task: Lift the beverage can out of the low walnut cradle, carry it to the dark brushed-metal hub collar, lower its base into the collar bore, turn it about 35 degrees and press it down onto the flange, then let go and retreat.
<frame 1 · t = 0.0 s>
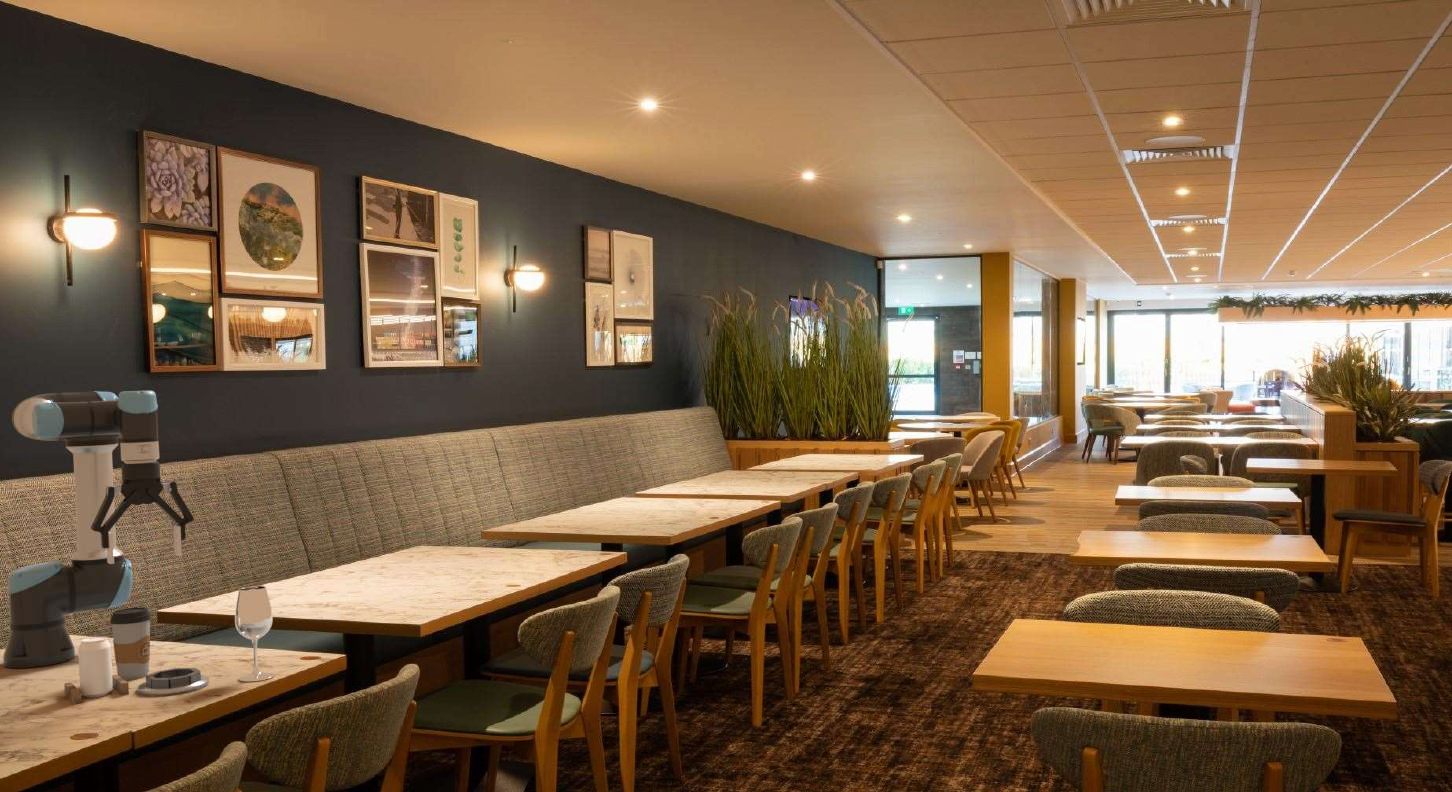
hand: (145, 559, 267), 28 cm above the table, fingers open, 13 cm apart
wineglass: (256, 678, 273), on the table
hub collar: (173, 687, 267), on the table
beverage can: (96, 695, 263), on the table
coffee cup: (133, 677, 278), on the table
walnut cradle: (96, 694, 263), on the table
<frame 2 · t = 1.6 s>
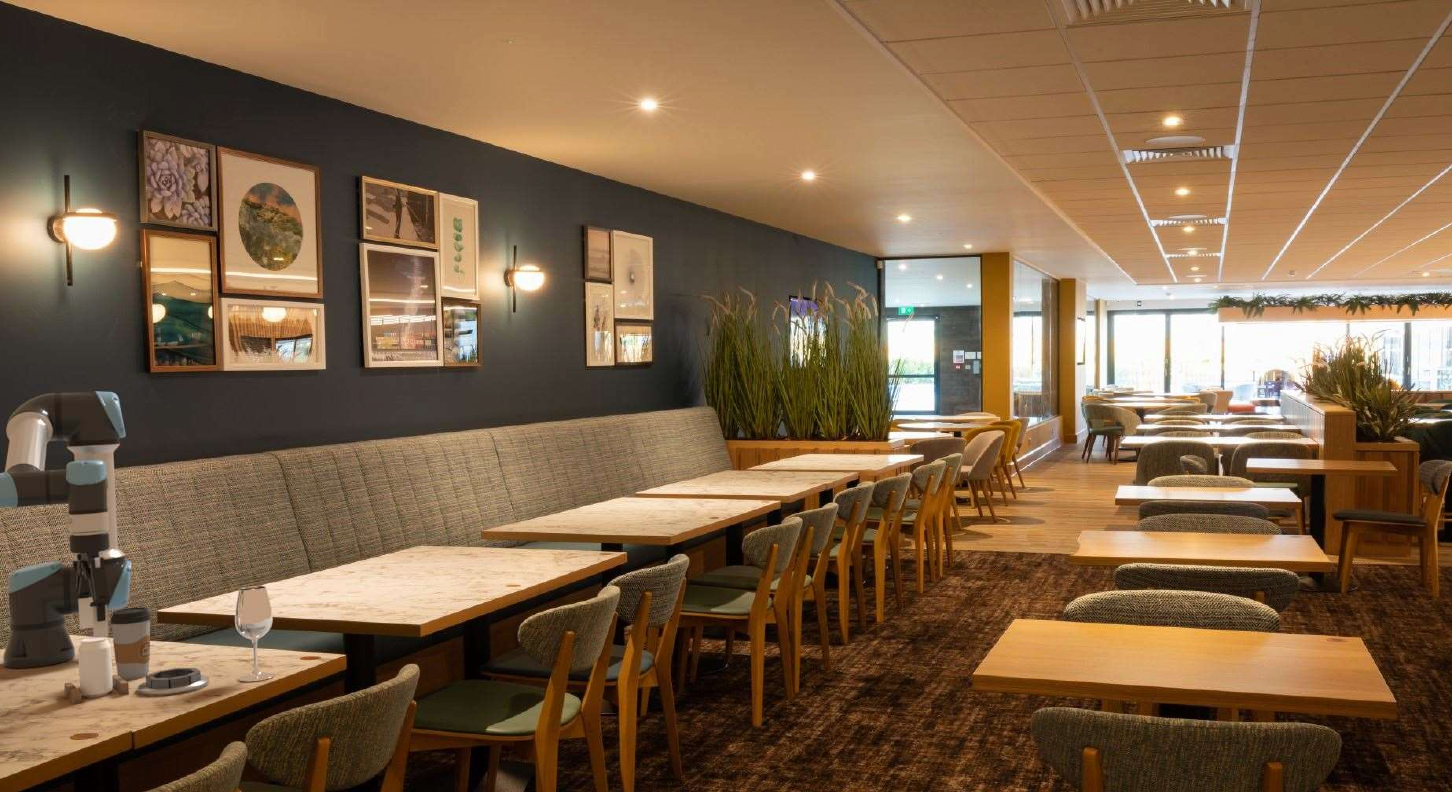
hand: (93, 632, 262), 13 cm above the table, fingers open, 13 cm apart
nothing on the table moved.
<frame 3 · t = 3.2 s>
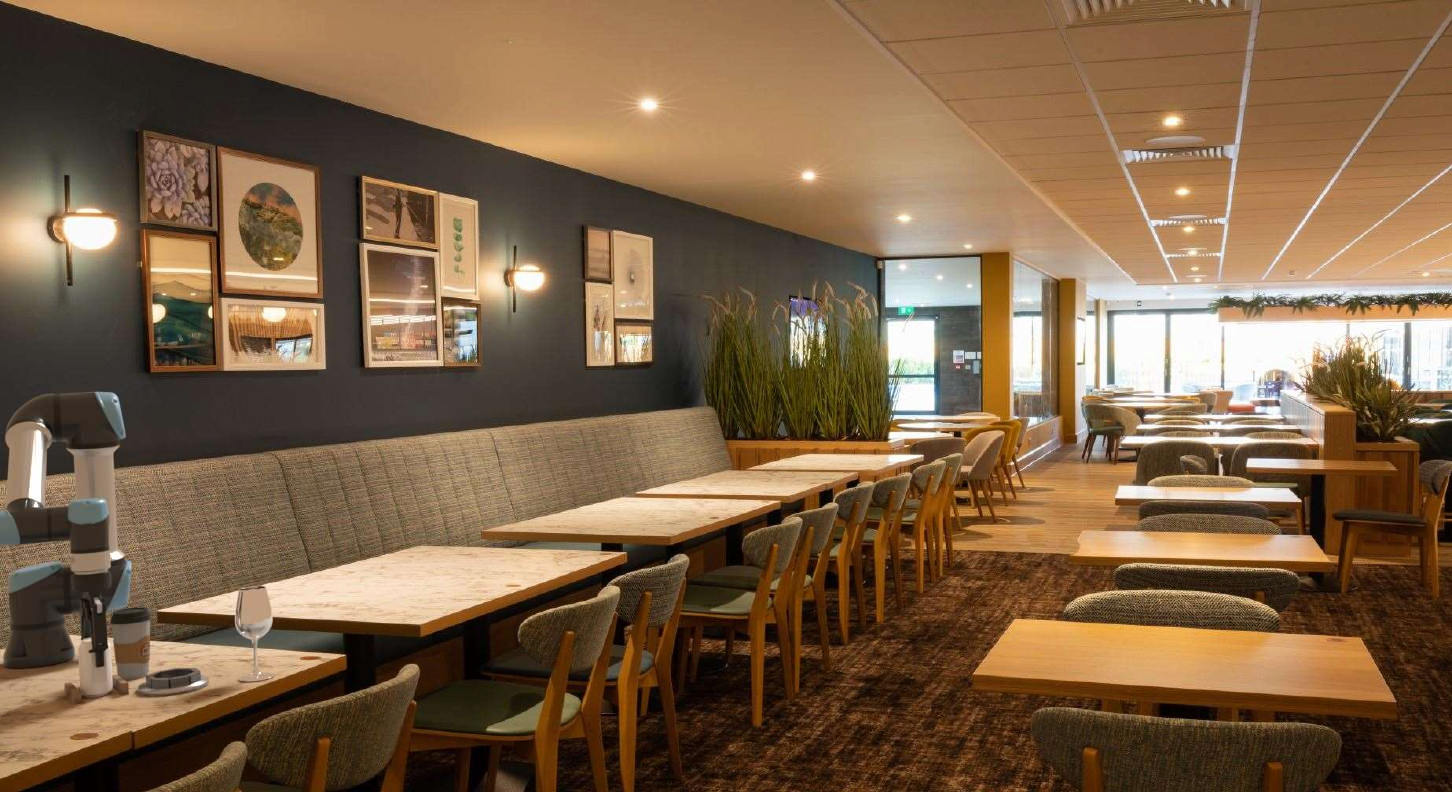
hand: (96, 678, 263), 3 cm above the table, fingers closed on beverage can, 6 cm apart
beverage can: (96, 695, 263), on the table, touching gripper
everything else where it was.
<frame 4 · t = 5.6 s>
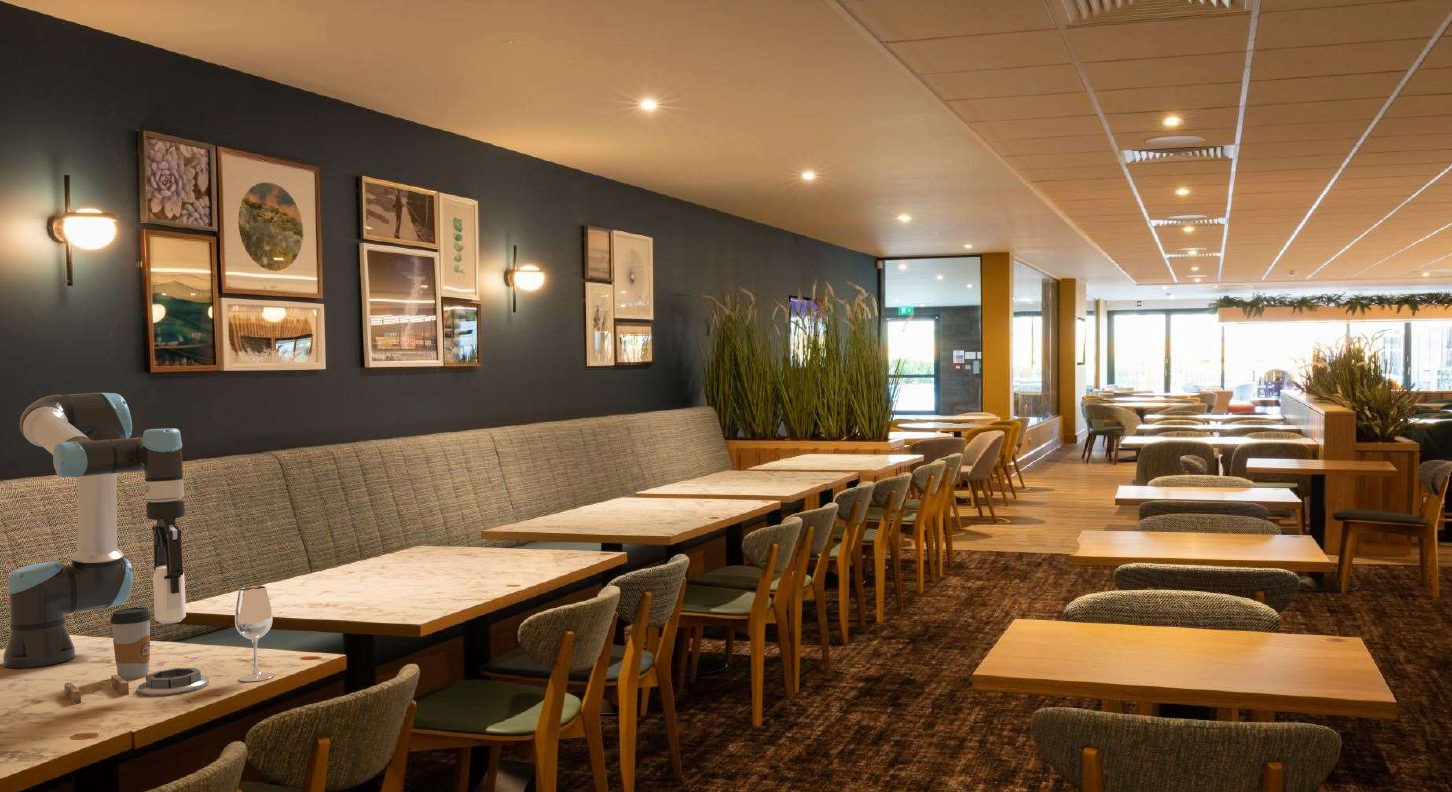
hand: (170, 605, 266), 18 cm above the table, fingers closed on beverage can, 6 cm apart
beverage can: (170, 622, 266), point 14 cm above the table, touching gripper
everything else where it was.
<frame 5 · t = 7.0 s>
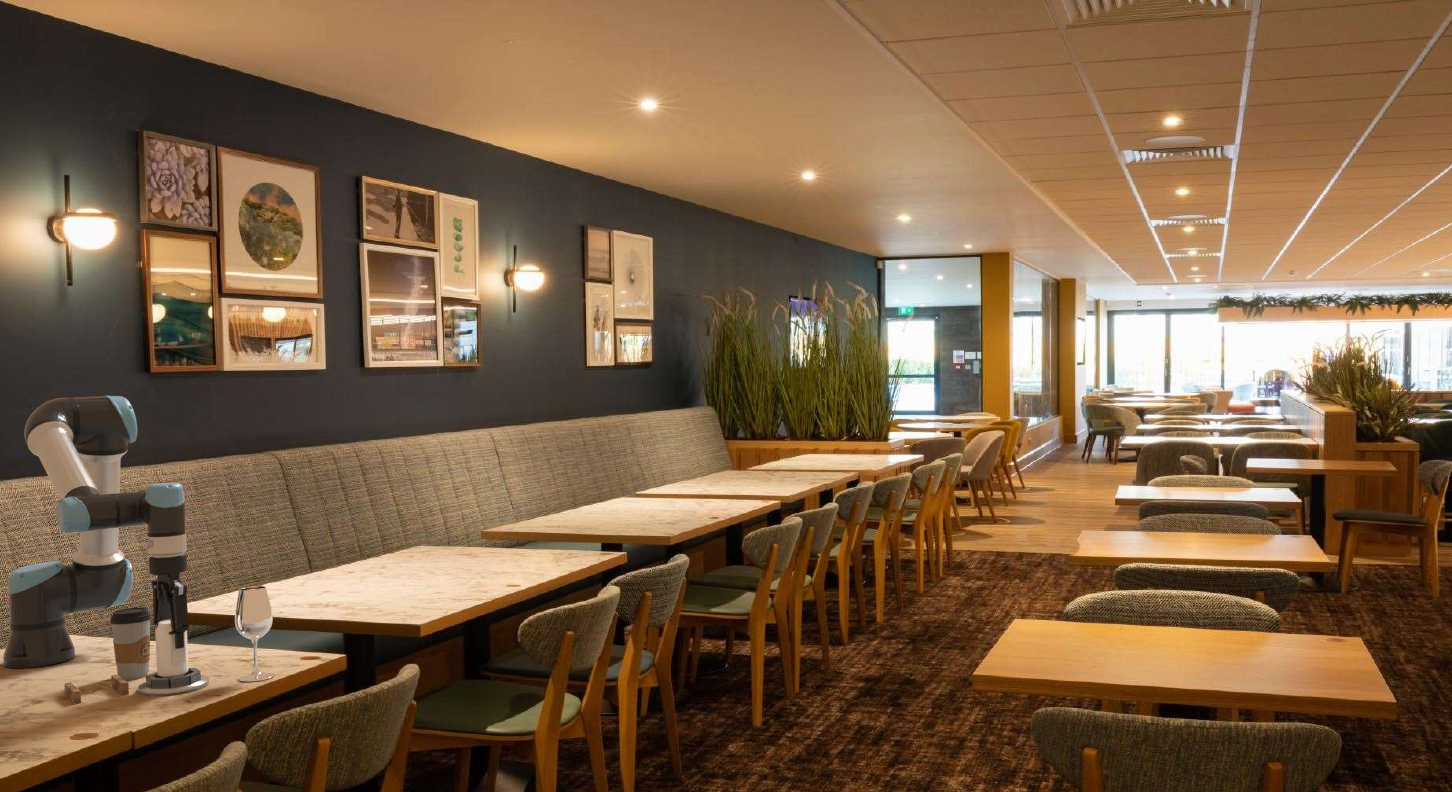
hand: (172, 660, 267), 6 cm above the table, fingers closed on beverage can, 6 cm apart
beverage can: (173, 677, 267), point 2 cm above the table, touching gripper
everything else where it was.
when the fingers open (5 cm above the table, at t = 8.2 s): beverage can stays where it is, resting on hub collar.
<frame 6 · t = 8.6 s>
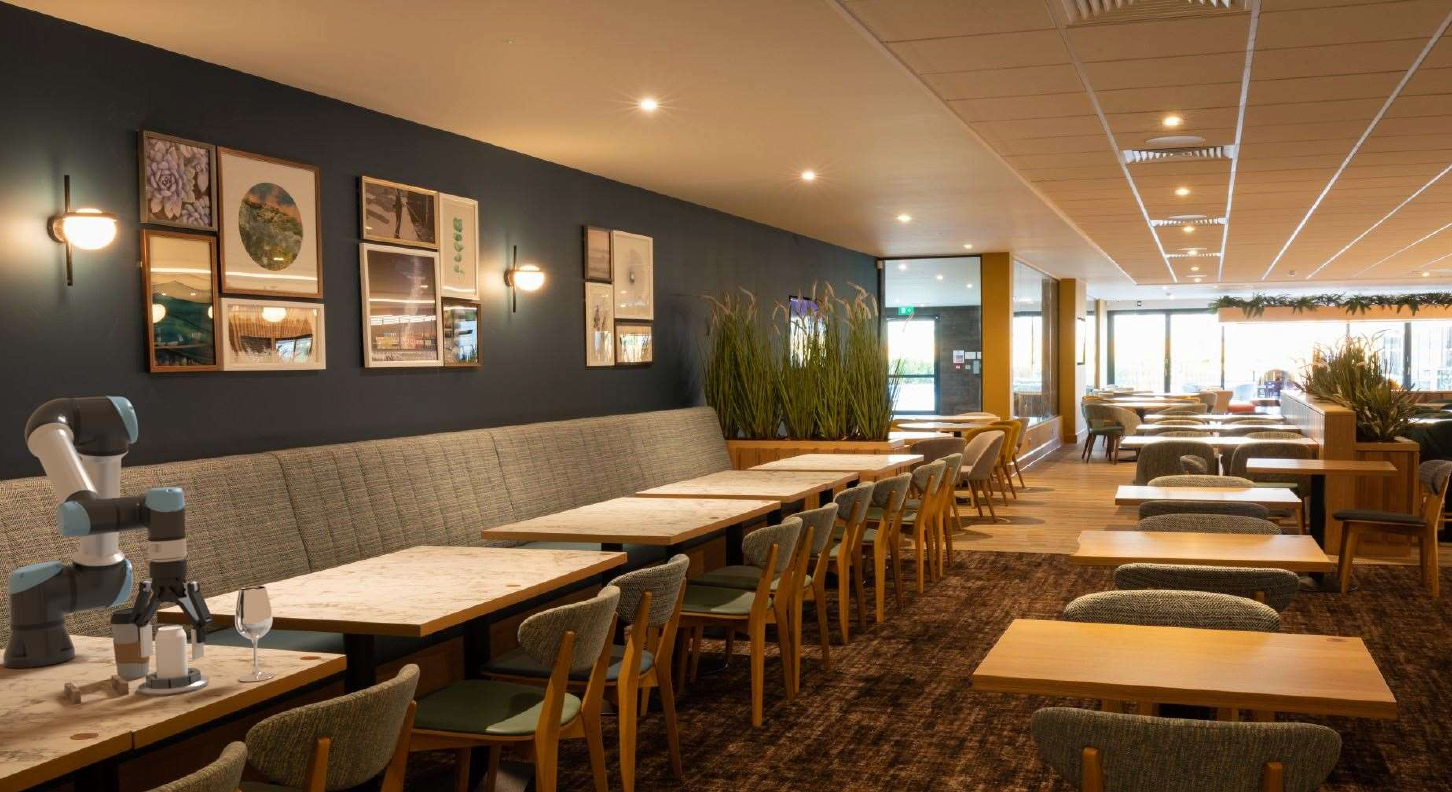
hand: (172, 657, 267), 7 cm above the table, fingers open, 13 cm apart
beverage can: (172, 683, 267), point 1 cm above the table, touching hub collar
everything else where it was.
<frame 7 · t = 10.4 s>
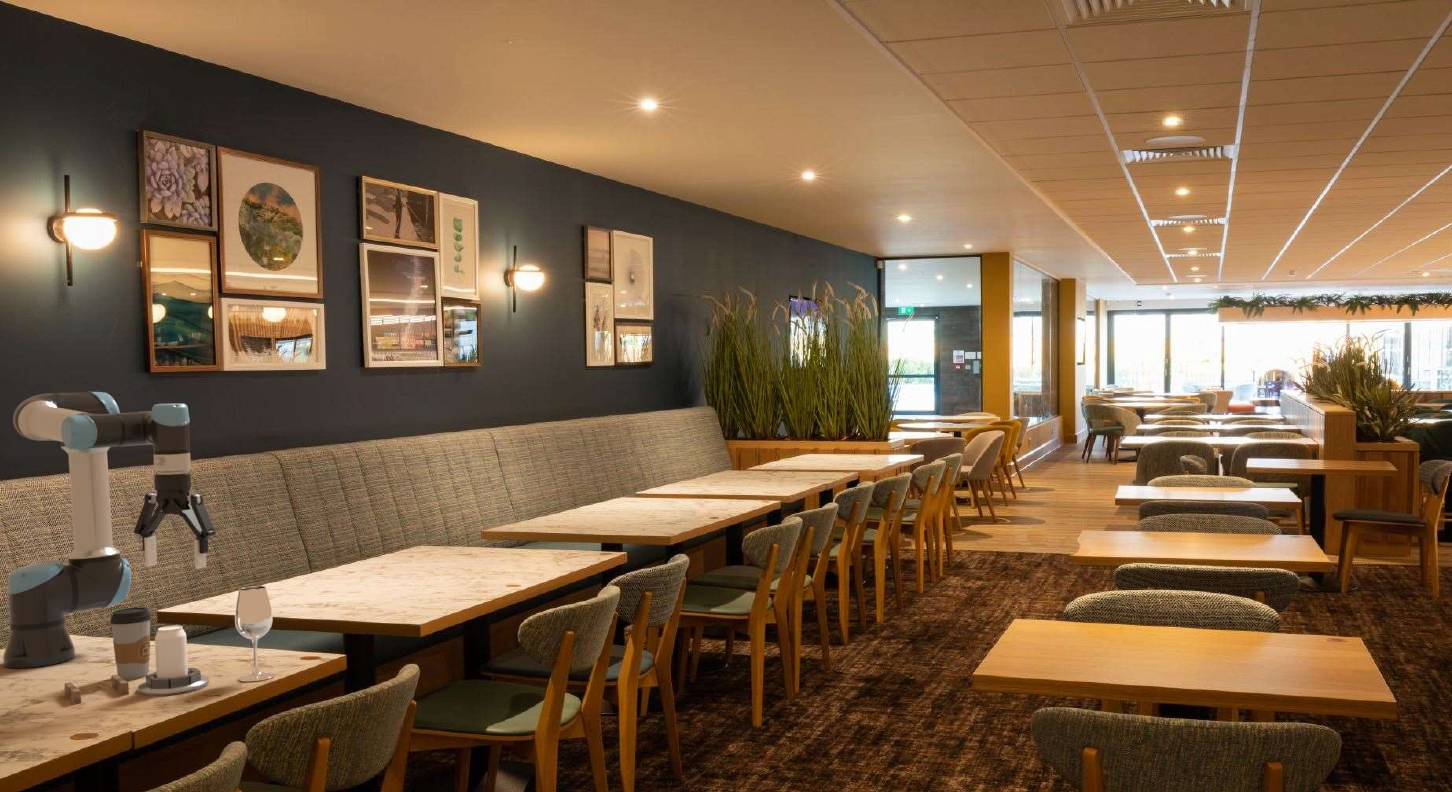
hand: (175, 566, 276), 25 cm above the table, fingers open, 13 cm apart
nothing on the table moved.
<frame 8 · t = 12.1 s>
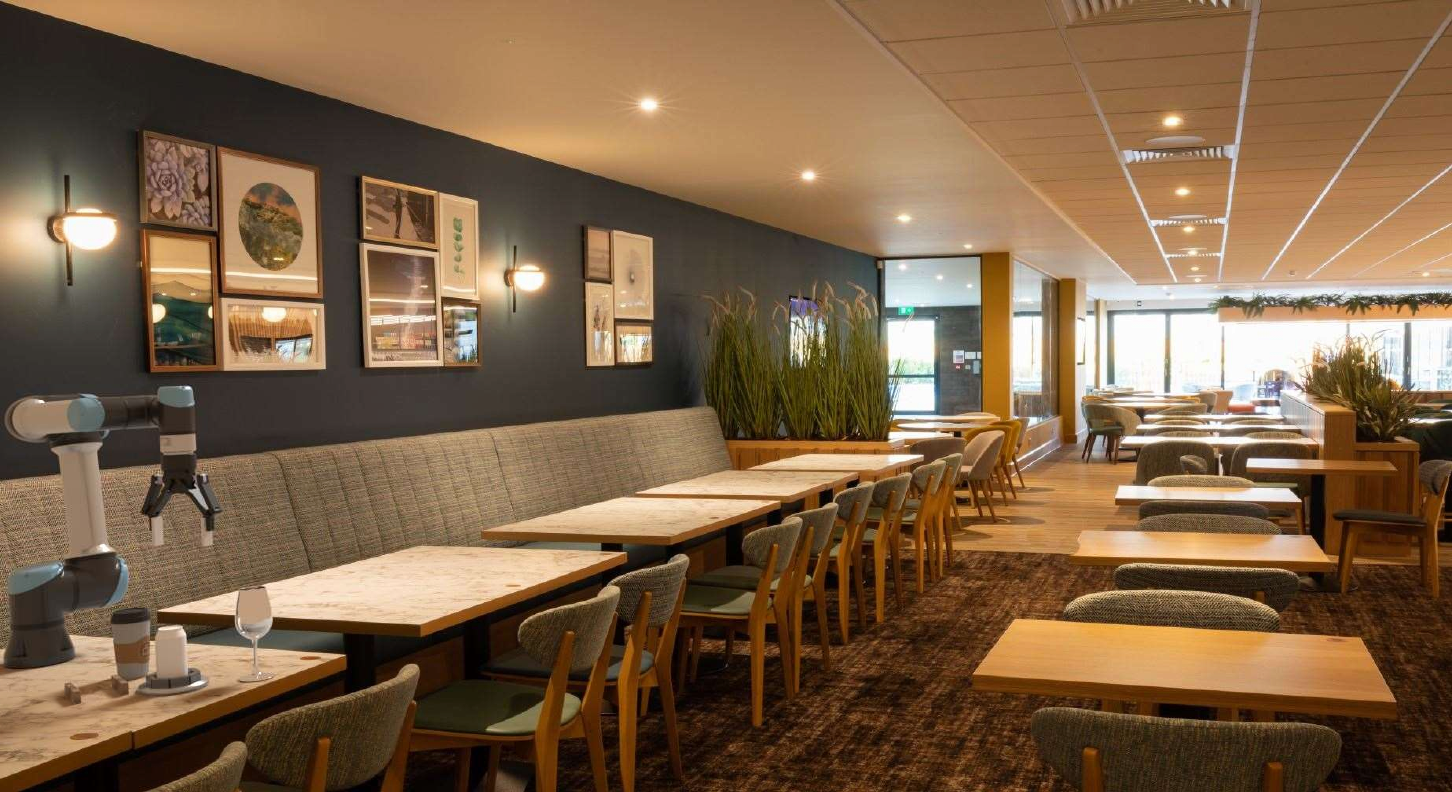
hand: (182, 545, 282), 29 cm above the table, fingers open, 13 cm apart
nothing on the table moved.
at the end: beverage can 0.3 cm from the hub collar (horizontally); beverage can point 0.8 cm above the table; beverage can tilted 0° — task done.
